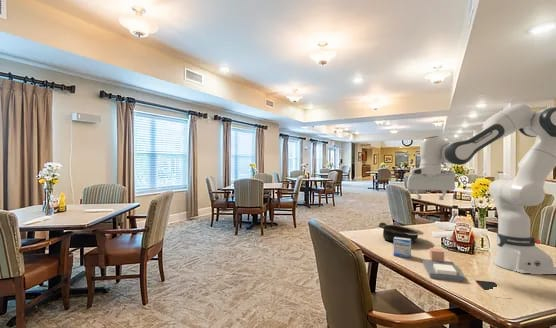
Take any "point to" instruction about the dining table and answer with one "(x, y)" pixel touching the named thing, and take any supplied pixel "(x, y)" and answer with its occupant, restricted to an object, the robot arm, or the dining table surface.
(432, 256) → the stub
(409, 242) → the medicine box
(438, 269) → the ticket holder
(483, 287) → the smartphone
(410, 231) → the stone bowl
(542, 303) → the dining table surface
